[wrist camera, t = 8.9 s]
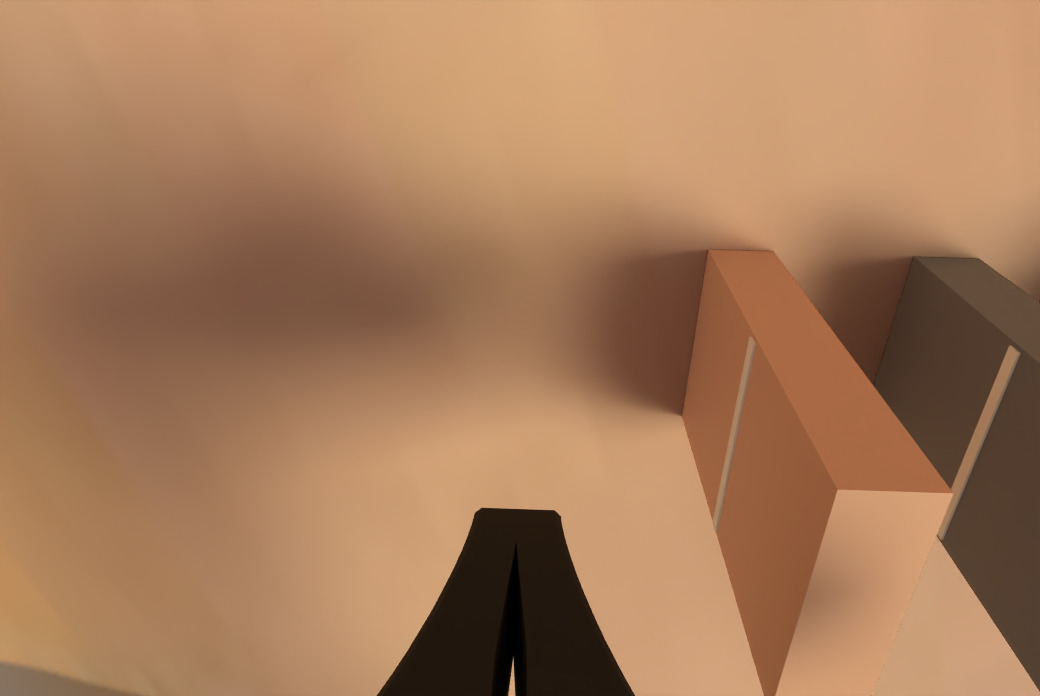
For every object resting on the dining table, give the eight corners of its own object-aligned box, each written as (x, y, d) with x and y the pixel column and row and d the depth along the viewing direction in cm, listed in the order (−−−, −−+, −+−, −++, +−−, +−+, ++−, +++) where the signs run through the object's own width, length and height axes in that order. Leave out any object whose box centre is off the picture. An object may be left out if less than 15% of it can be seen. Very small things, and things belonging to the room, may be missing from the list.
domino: (921, 425, 20) (1159, 730, 12) (860, 423, 20) (1060, 726, 12) (981, 259, 18) (1324, 507, 10) (911, 256, 18) (1200, 502, 10)
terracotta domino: (740, 418, 20) (865, 718, 13) (680, 416, 20) (766, 713, 13) (775, 251, 18) (957, 493, 10) (706, 249, 18) (834, 489, 10)
